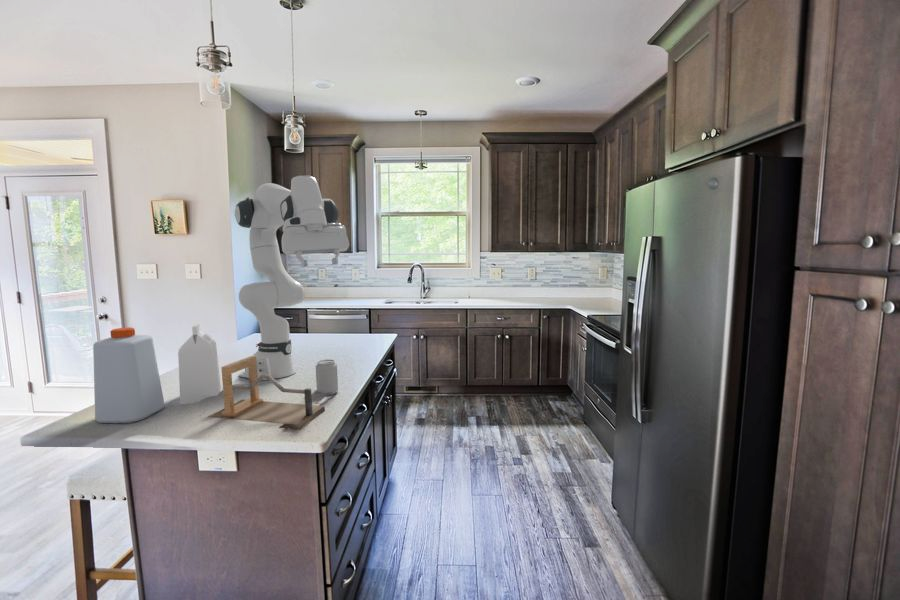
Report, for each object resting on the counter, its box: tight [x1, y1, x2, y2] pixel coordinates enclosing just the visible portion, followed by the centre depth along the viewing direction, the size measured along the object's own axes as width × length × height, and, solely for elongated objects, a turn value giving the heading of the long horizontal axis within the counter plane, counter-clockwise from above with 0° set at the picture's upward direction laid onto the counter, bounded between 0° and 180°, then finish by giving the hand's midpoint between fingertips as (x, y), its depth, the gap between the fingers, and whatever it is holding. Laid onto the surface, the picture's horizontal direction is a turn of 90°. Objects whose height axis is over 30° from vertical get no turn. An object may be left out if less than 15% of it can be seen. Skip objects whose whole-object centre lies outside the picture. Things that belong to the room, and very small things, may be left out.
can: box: [315, 358, 339, 397], centre depth 154 cm, size 8×8×12 cm
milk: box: [177, 323, 223, 405], centre depth 152 cm, size 12×12×26 cm
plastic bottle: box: [92, 326, 165, 424], centre depth 135 cm, size 15×15×28 cm
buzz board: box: [207, 375, 326, 430], centre depth 134 cm, size 31×15×13 cm, turn 77°
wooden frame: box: [220, 355, 264, 418], centre depth 136 cm, size 5×13×16 cm, turn 167°
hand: (320, 265), depth 132 cm, fingers open, 8 cm apart
